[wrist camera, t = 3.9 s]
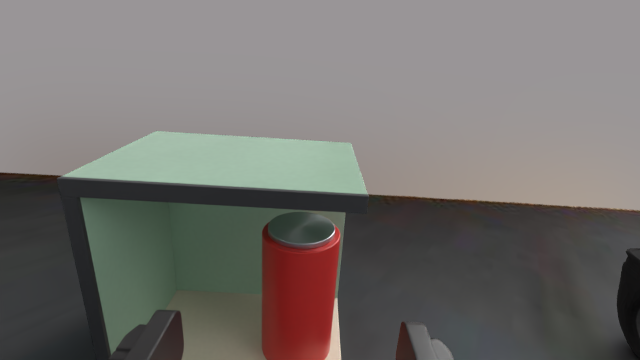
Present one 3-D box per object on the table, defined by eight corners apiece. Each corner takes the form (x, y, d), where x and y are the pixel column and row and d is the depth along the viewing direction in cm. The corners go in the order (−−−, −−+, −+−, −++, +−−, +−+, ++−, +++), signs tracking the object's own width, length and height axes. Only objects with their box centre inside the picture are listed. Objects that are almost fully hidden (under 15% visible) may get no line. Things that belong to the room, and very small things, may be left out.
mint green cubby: (343, 409, 23) (368, 196, 18) (104, 398, 23) (56, 178, 17) (336, 298, 33) (351, 142, 28) (172, 289, 33) (155, 131, 28)
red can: (247, 354, 26) (245, 232, 22) (284, 310, 31) (287, 203, 27) (311, 384, 24) (320, 256, 20) (340, 332, 28) (352, 220, 25)
